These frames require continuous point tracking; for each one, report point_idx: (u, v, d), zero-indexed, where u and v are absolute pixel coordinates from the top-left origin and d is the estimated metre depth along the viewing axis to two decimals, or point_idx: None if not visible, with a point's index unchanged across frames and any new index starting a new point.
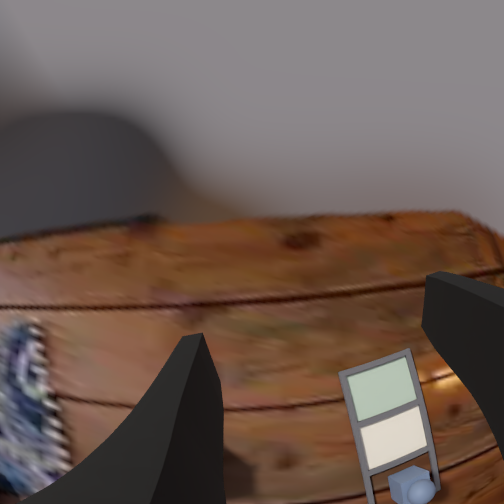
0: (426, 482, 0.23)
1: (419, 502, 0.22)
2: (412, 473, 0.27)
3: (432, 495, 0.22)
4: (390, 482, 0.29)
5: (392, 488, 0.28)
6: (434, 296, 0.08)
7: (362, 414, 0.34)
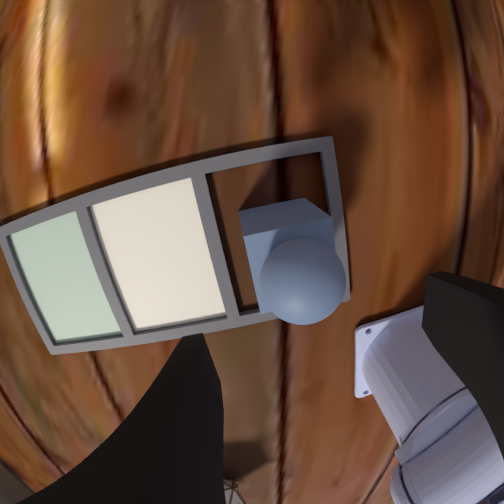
0: (268, 287, 0.12)
1: (329, 313, 0.12)
2: None
3: (322, 278, 0.11)
4: None
5: None
6: (434, 296, 0.08)
7: (110, 323, 0.20)
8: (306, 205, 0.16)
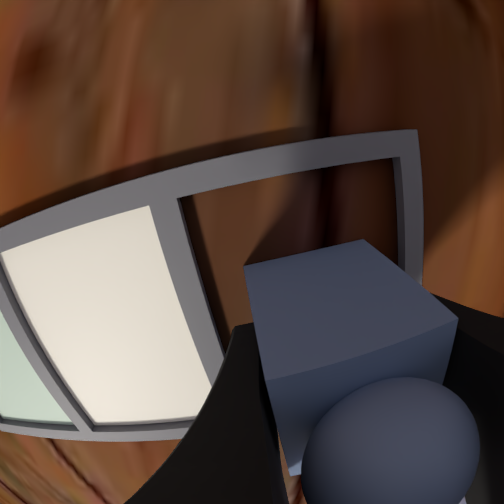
0: None
1: None
2: None
3: (454, 496, 0.03)
4: None
5: None
6: None
7: (59, 412, 0.11)
8: (380, 265, 0.08)
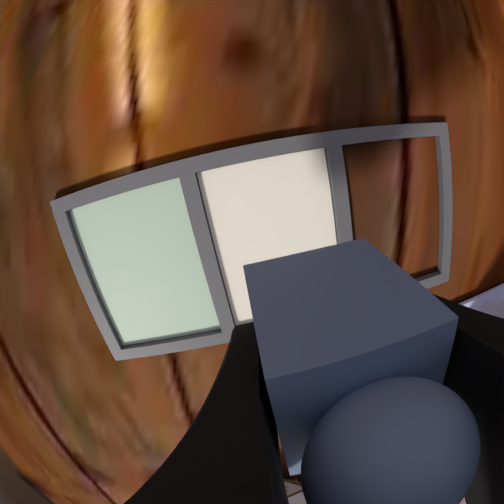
0: None
1: None
2: None
3: (455, 495, 0.03)
4: None
5: None
6: None
7: (204, 318, 0.18)
8: (380, 264, 0.08)
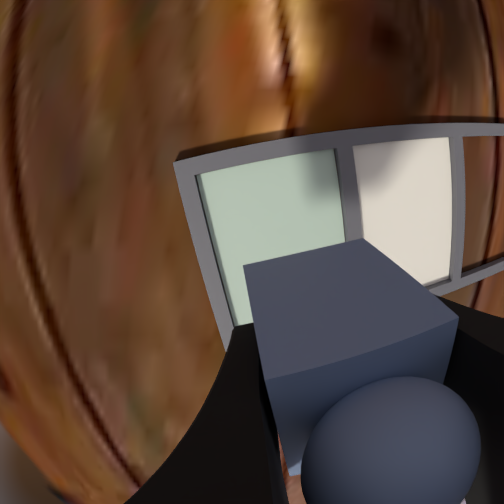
0: None
1: None
2: None
3: (455, 496, 0.03)
4: None
5: None
6: None
7: None
8: (380, 264, 0.08)
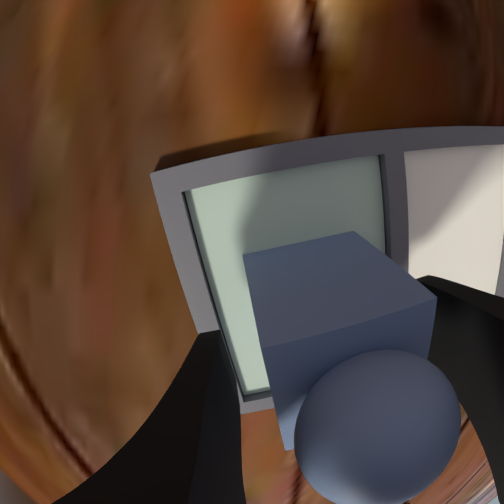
0: (318, 474, 0.04)
1: None
2: None
3: (436, 459, 0.04)
4: None
5: None
6: None
7: None
8: (367, 252, 0.09)
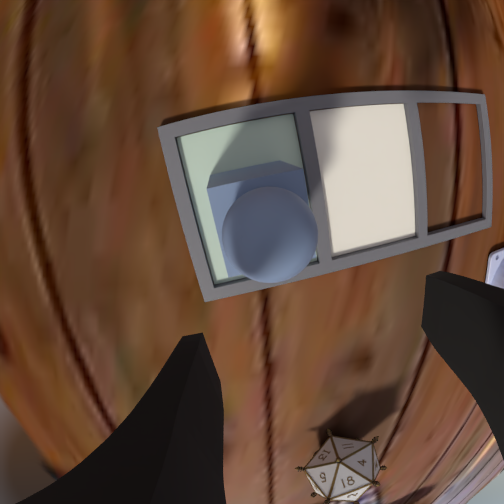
0: (228, 237, 0.11)
1: (299, 268, 0.11)
2: None
3: (287, 224, 0.10)
4: None
5: None
6: (434, 296, 0.08)
7: None
8: (279, 164, 0.15)
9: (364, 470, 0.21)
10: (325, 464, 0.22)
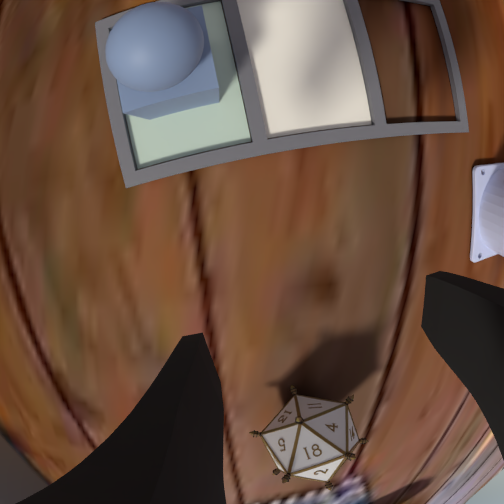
0: None
1: (170, 54, 0.08)
2: None
3: (156, 11, 0.07)
4: (160, 114, 0.15)
5: (175, 109, 0.14)
6: (434, 296, 0.08)
7: (234, 127, 0.16)
8: None
9: (334, 437, 0.18)
10: (284, 427, 0.19)
